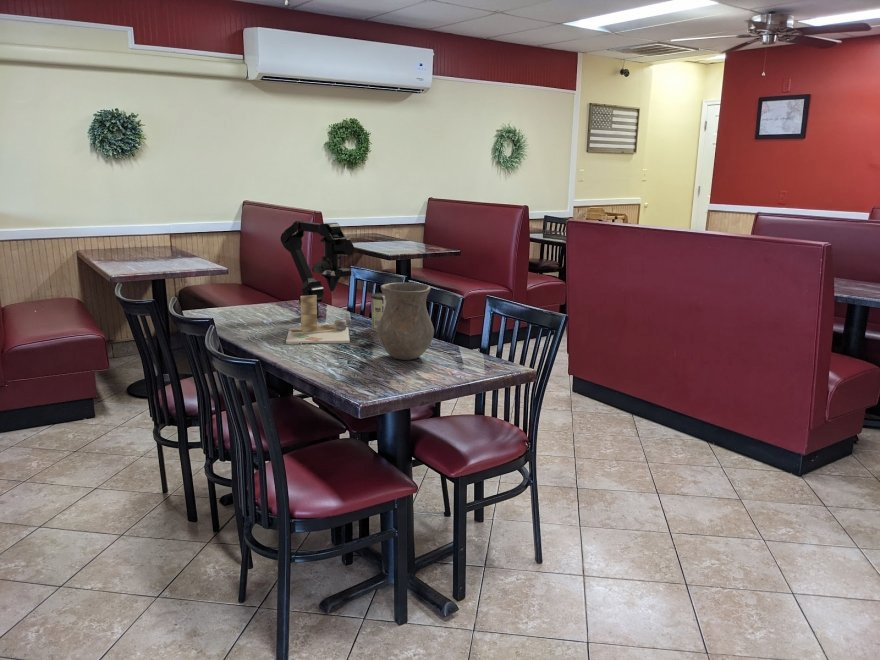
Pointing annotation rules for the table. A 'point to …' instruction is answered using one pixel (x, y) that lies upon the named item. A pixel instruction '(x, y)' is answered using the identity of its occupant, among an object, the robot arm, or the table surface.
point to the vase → (405, 320)
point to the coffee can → (376, 309)
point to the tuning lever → (314, 317)
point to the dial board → (318, 336)
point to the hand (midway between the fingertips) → (332, 291)
